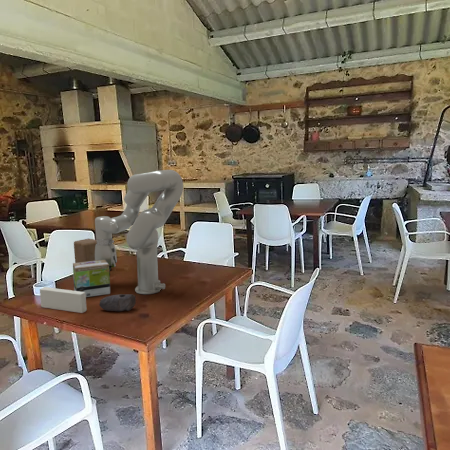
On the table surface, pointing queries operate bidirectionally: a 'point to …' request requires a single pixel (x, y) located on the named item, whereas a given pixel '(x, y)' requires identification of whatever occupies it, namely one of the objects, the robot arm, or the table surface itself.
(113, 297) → the perforated stone tool
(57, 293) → the plank
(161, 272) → the table surface
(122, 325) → the table surface
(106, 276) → the tea box
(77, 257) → the wooden block
